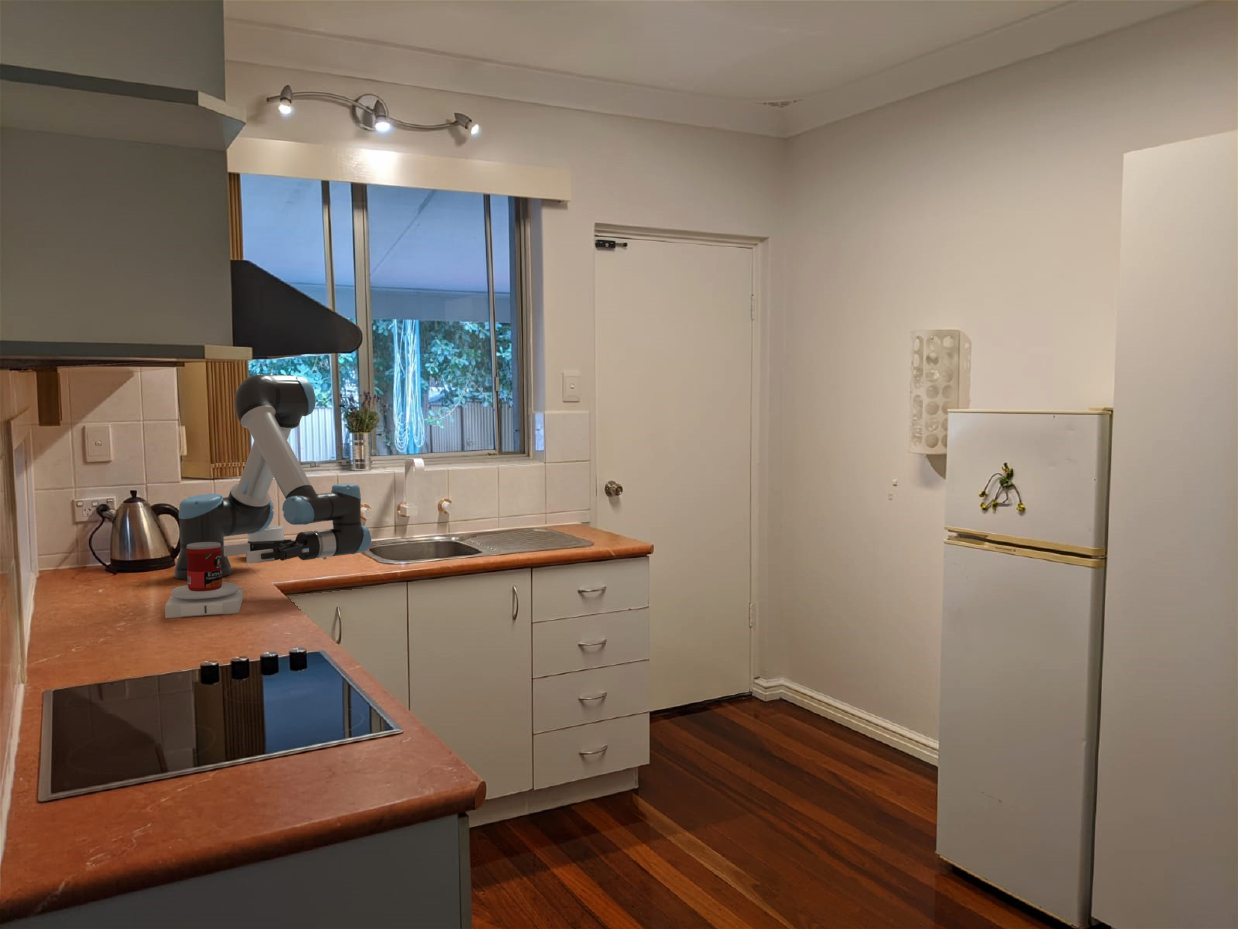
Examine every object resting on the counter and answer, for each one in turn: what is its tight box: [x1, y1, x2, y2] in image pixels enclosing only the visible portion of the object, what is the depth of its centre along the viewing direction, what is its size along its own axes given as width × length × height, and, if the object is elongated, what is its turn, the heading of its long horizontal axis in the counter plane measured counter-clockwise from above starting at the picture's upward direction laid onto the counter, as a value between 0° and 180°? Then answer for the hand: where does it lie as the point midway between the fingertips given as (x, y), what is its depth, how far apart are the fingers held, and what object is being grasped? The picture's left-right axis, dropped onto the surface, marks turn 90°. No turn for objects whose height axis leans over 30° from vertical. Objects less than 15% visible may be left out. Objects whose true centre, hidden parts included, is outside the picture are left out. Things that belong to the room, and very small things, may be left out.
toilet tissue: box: [247, 524, 285, 561], centre depth 301 cm, size 11×12×10 cm
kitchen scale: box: [164, 581, 244, 619], centre depth 228 cm, size 17×16×5 cm
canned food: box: [186, 542, 223, 591], centre depth 228 cm, size 8×8×11 cm
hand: (235, 554), depth 233 cm, fingers open, 13 cm apart
